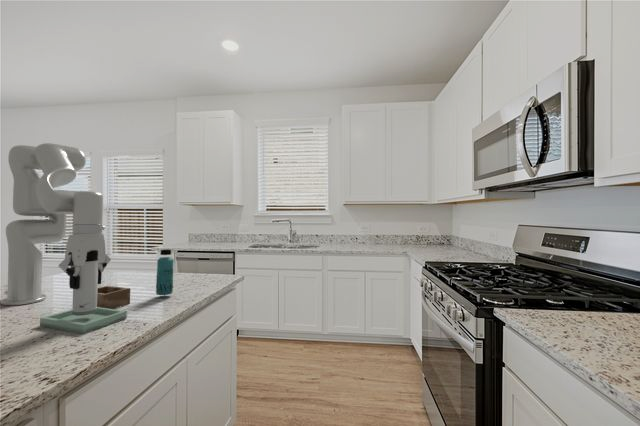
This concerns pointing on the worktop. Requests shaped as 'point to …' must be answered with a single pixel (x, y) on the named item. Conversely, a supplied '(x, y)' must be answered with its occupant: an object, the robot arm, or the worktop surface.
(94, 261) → the travel mug
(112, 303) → the box
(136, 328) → the worktop surface
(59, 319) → the tray
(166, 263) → the beverage bottle
